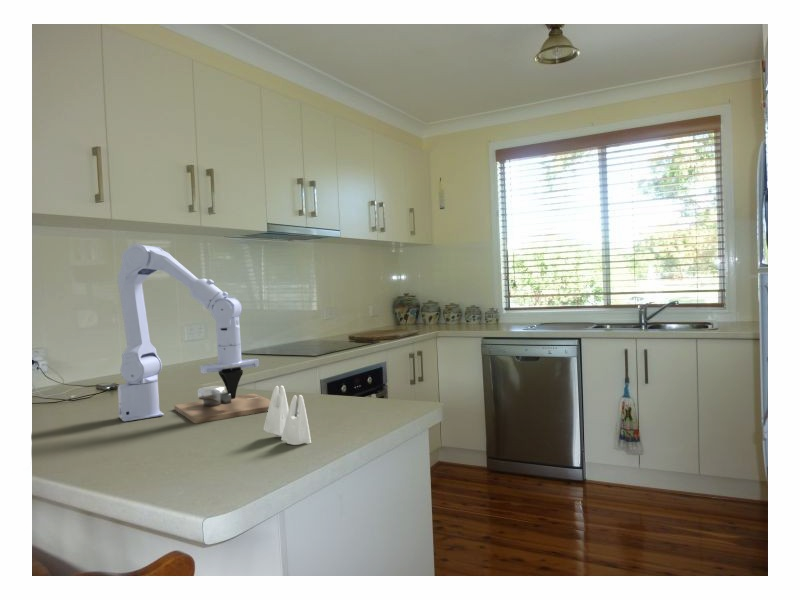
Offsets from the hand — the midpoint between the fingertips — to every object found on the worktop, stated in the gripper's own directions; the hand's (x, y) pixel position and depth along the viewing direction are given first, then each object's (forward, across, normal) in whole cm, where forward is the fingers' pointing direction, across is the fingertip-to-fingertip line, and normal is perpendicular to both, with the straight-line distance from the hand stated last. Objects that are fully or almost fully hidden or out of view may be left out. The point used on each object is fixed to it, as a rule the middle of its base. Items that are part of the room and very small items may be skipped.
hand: (232, 398), depth 143 cm
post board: (+4, +1, +7) cm, 8 cm away
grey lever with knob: (+1, -2, +5) cm, 6 cm away
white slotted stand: (+4, -1, -34) cm, 34 cm away
